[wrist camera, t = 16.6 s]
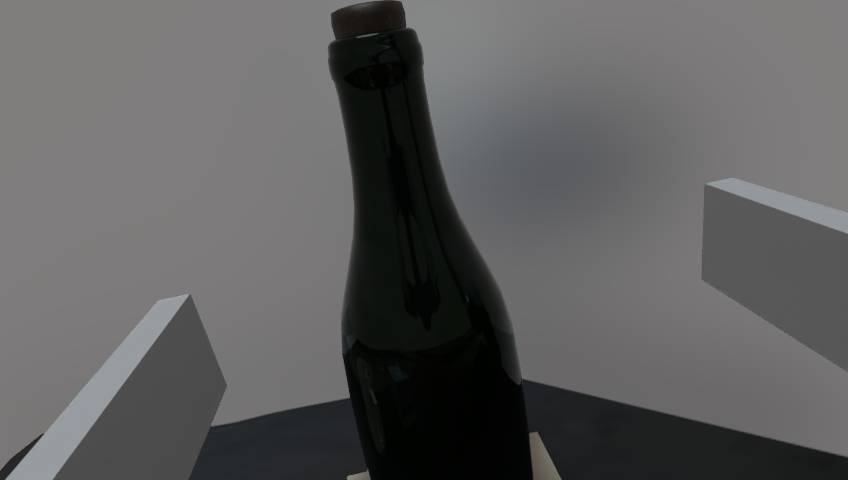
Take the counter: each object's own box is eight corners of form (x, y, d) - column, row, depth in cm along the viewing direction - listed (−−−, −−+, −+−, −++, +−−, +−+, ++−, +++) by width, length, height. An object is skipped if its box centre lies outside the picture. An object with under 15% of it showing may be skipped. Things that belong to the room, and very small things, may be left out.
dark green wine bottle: (546, 477, 36) (499, -13, 25) (532, 629, 27) (447, -38, 15) (415, 460, 40) (320, 26, 28) (363, 591, 30) (191, 24, 19)
